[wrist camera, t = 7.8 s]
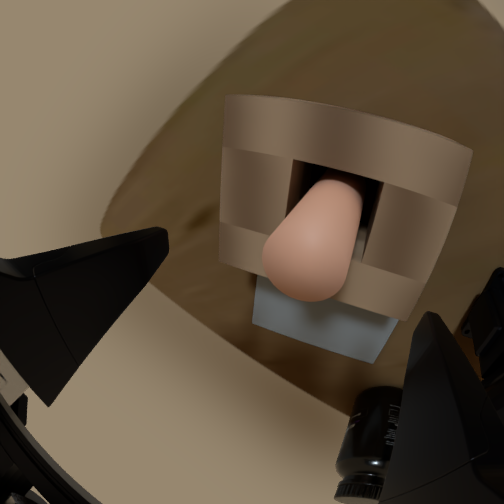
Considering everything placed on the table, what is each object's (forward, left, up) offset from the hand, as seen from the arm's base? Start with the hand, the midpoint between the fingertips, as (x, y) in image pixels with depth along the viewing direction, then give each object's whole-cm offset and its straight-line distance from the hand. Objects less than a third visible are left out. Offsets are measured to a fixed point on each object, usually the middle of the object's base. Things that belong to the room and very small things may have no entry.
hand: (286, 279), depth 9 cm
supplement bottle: (-11, +21, -11) cm, 26 cm away
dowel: (0, 0, -11) cm, 11 cm away
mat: (-1, +10, -11) cm, 15 cm away
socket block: (0, 0, -11) cm, 11 cm away
